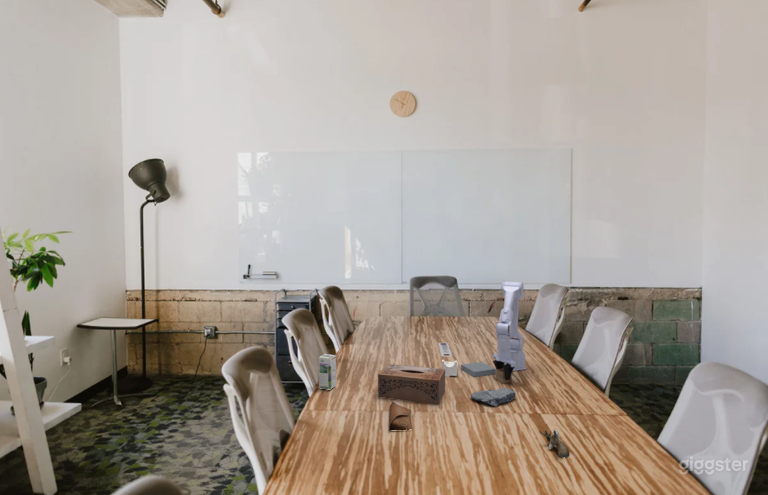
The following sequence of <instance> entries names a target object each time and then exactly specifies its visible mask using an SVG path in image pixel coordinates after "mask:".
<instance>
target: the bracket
mask: <svg viewBox="0 0 768 495" xmlns="http://www.w3.org/2000/svg"><path fill="white" fill-rule="evenodd" d="M441 369H445V378H446V377H447V378H450V377H451V376H452V377H453V376H454V377H457V376H458V371H459V370H458V369H459V362H458V360H454V361H445V359H442V360H441Z"/></svg>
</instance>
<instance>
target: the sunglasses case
mask: <svg viewBox="0 0 768 495" xmlns="http://www.w3.org/2000/svg"><path fill="white" fill-rule="evenodd" d="M388 412H389V416H388V418H389V419H388V420H389V421H388V427H389V429H388V430H406V429H407V430H409V429H412V430H413V427H412V420H411V414H412V413H411V412H412V409H410V408H407V407H406V406H402V405H400V404H398V403H396V402H395V401H392V402H391V403H390V404H389V411H388Z"/></svg>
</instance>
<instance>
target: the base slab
mask: <svg viewBox="0 0 768 495" xmlns="http://www.w3.org/2000/svg"><path fill="white" fill-rule="evenodd" d="M460 370H461V371H463V372H465V373H466V374H468V375H470V376H471V377H473V378H478V377H485V376H492V375H496V367H495V368H494V367H492V366H491V365H489V364H487V363H485V362H482V361H478V362H477V361H476V362H470V363H469V362H468V363H463V364H460Z"/></svg>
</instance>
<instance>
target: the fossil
mask: <svg viewBox="0 0 768 495" xmlns="http://www.w3.org/2000/svg"><path fill="white" fill-rule="evenodd" d="M470 398H471V399H472V400H476V401H479V402H483V403H485V404H488V405H490V406H492V407H494V408H497V407H498V405H501V404H504V403H509V402H512V401H513V400H514V399H515V398H516V391H515V390H514V389H510V388H506V387H500V388H498V389H496V390H495V389H493V388H489V389H488V390H478V391H475V392H473V393H471V395H470Z"/></svg>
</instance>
